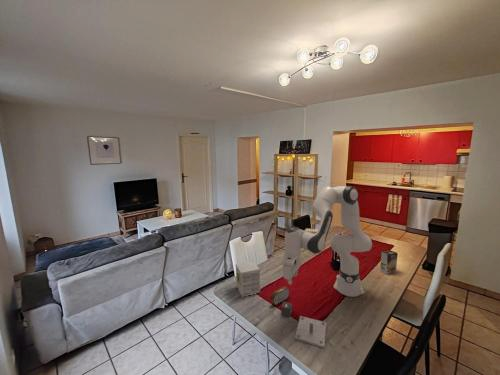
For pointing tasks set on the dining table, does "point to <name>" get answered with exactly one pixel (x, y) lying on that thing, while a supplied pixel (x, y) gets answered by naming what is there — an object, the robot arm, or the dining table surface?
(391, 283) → the dining table surface
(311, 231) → the coffeecake box
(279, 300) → the tin
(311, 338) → the hub plate
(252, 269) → the supplement box
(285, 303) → the labeled dark box
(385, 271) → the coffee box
